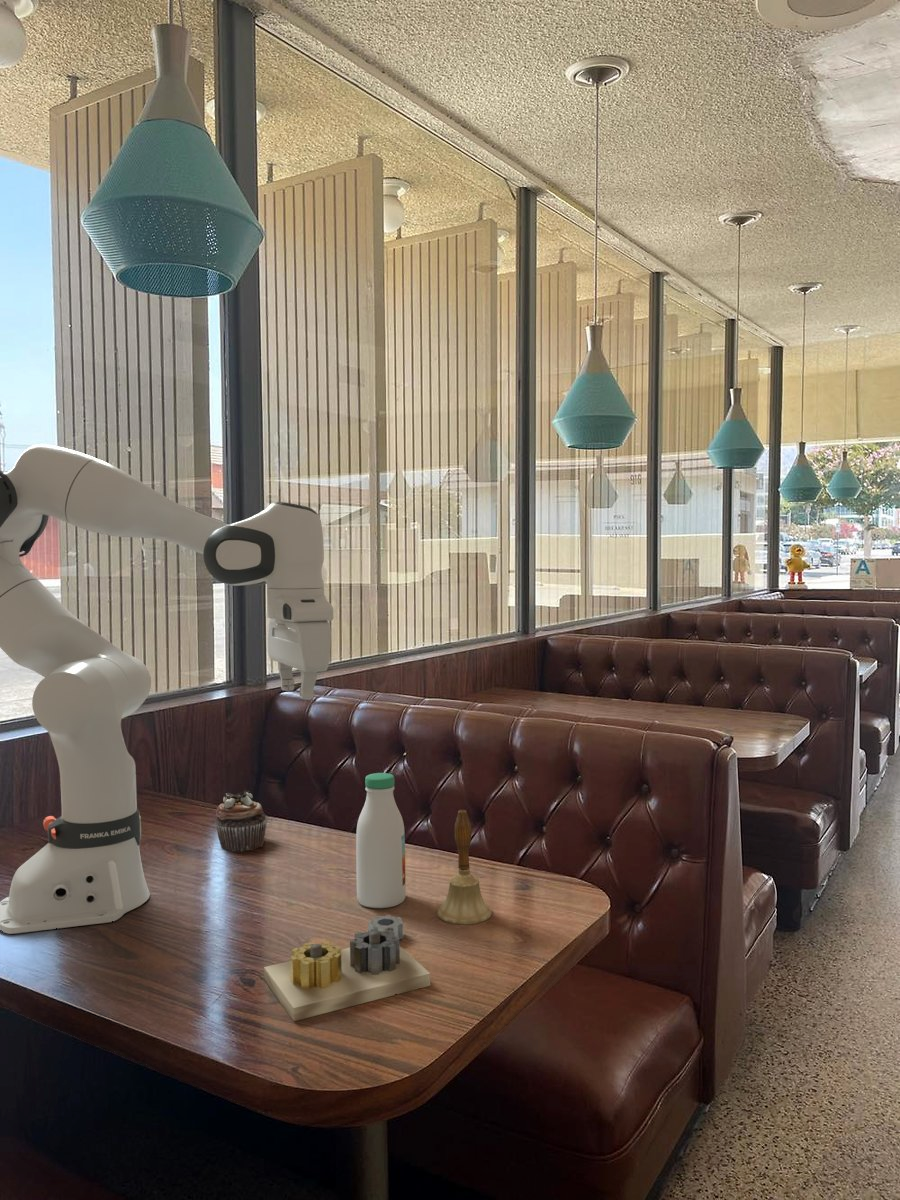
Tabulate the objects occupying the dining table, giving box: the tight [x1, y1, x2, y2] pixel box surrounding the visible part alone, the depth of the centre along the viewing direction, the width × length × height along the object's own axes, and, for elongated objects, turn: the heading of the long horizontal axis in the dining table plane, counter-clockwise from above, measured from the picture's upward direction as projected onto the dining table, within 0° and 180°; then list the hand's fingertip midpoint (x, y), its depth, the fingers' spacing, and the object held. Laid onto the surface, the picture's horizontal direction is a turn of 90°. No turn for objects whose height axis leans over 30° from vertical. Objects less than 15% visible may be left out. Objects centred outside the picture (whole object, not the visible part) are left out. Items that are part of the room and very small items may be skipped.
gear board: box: [263, 931, 431, 1022], centre depth 115 cm, size 18×12×6 cm, turn 118°
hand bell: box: [436, 809, 493, 926], centre depth 137 cm, size 8×8×16 cm
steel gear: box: [349, 929, 401, 975], centre depth 117 cm, size 6×6×3 cm
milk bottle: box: [355, 772, 407, 909], centre depth 142 cm, size 8×8×20 cm
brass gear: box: [289, 941, 342, 990], centre depth 114 cm, size 6×6×3 cm
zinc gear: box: [367, 914, 405, 940], centre depth 129 cm, size 5×5×2 cm
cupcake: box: [214, 789, 268, 852], centre depth 170 cm, size 10×10×10 cm
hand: (297, 694), depth 142 cm, fingers open, 8 cm apart
